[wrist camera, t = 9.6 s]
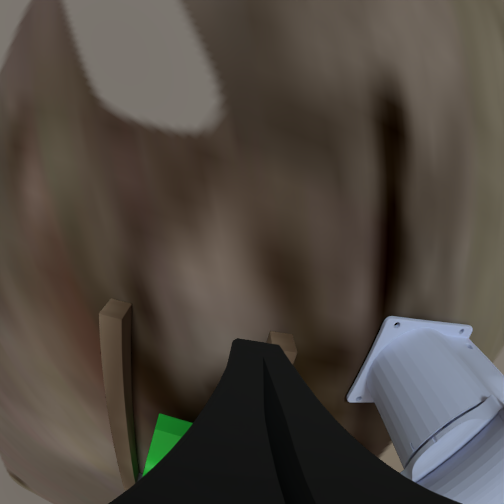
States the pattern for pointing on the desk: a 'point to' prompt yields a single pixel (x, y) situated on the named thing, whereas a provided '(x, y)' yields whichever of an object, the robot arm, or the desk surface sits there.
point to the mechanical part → (164, 439)
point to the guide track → (120, 386)
